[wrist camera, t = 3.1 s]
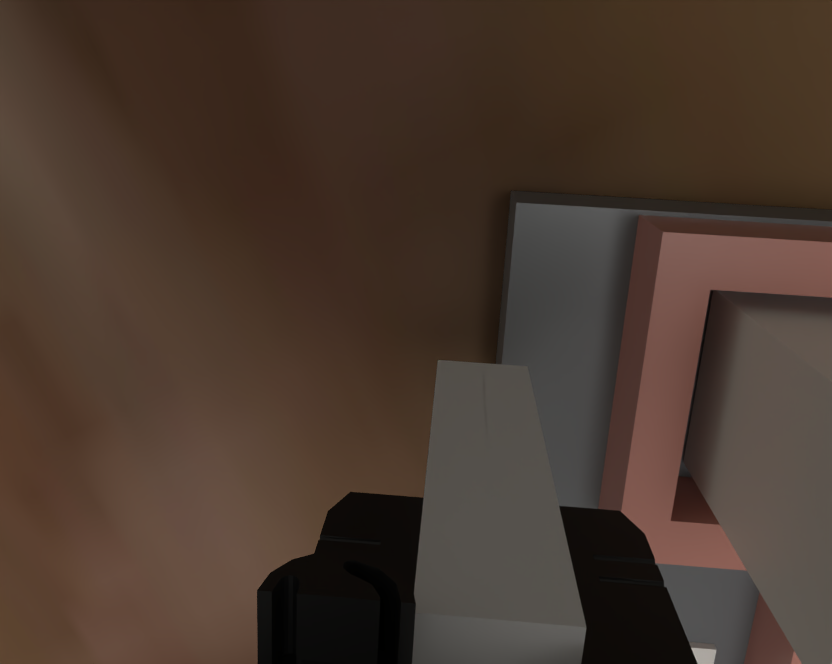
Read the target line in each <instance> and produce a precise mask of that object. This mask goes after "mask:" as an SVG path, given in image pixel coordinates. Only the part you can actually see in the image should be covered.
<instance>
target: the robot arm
mask: <svg viewBox="0 0 832 664" xmlns="http://www.w3.org/2000/svg"><path fill="white" fill-rule="evenodd" d="M257 623H258V664H697V661H696V659H695V656H694V654H693V651H692V649H691V646H690V644H689V641H688V639H687V636H686V634H685V632H684V629H683V627H682V624H681V622H680V619H679V617H678V614H677V612H676V609H675V607H674V604H673V602H672V600H671V597H670V595H669V592H668V590H667V587H664V580H663V577H662V575H661V572H660V570H659V568H658V565H655V558H654V555H653V553H652V550H651V548H650V545H649V543H648V540H647V538H646V535H645V533H643V532H642V531H641V530H640V529H639V528H638V527H637V526H636V525H635V524H634V523H633V522H632V521H630V520H629V519H628V518H627V517H626V516H625V515H624V514H623V513H622V512H621V511H618V510H606V509H593V508H581V507H568V506H559V504H558V499H557V495H556V490H555V486H554V482H553V477H552V473H551V468H550V464H549V459H548V455H547V451H546V446H545V442H544V437H543V433H542V429H541V424H540V420H539V415H538V411H537V406H536V402H535V398H534V393H533V389H532V384H531V380H530V375H529V371H528V367H527V366H516V365H502V364H489V363H475V362H461V361H447V360H438V363H437V372H436V382H435V392H434V402H433V411H432V421H431V431H430V441H429V450H428V460H427V470H426V480H425V489H424V498H420V497H407V496H395V495H382V494H369V493H357V492H350V493H349V494H347V495H346V496H345V497H344V498H343V499H342V500H340V501H339V502H338V503H337V504H336V505H335V506H333V507H332V508H331V509H330V510H329V511H328V513H327V516H326V519H325V522H324V525H323V528H322V531H321V534H320V540H319V541H318V544H317V547H316V550H315V553H314V554H311V555H308V556H304V557H300V558H296V559H293V560H291V561H289V562H287V563H286V564H284V565H282V566H281V567H279V568H277V569H276V570H274V571H272V572H271V573H270V574H269V575H268V577H267V578H266V579H265V581H264V582H263V583H262V585H261V586H260V587H259V589H258V590H257Z"/></svg>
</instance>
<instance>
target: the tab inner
mask: <svg viewBox="0 0 832 664" xmlns="http://www.w3.org/2000/svg"><path fill="white" fill-rule="evenodd" d="M683 463H684V464H685V466H686V468H687V469H688V471H689V473H690V475H691V476H692V478H693V480H694V481H695V483H696V485H697V486H698V488H699V490H700V492H701V493H702V495H703V497H704V498H705V500H706V502H707V503H708V505H709V507H710V509H711V510H712V512H713V514H714V515H715V517H716V519H717V520H718V522H719V524H720V526H721V527H722V529H723V531H724V532H725V534H726V536H727V537H728V539H729V541H730V543H731V544H732V546H733V548H734V549H735V551H736V553H737V554H738V556H739V558H740V560H741V561H742V563H743V565H744V566H745V568H746V570H747V571H748V573H749V575H750V577H751V578H752V580H753V582H754V583H755V585H756V587H757V588H758V590H759V592H760V594H761V595H762V597H763V599H764V600H765V602H766V604H767V605H768V607H769V609H770V611H771V612H772V614H773V616H774V617H775V619H776V621H777V622H778V624H779V626H780V628H781V629H782V631H783V633H784V634H785V636H786V638H787V640H788V641H789V643H790V645H791V646H792V648H793V650H794V651H795V653H796V655H797V657H798V658H799V660H800V662H801V663H802V664H832V298H830V297H814V296H799V295H783V294H768V293H752V292H737V291H721V290H713V294H712V300H711V306H710V311H709V317H708V323H707V329H706V335H705V340H704V346H703V352H702V358H701V363H700V369H699V375H698V381H697V386H696V392H695V398H694V404H693V410H692V415H691V421H690V427H689V433H688V438H687V444H686V450H685V456H684V462H683Z"/></svg>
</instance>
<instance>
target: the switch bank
mask: <svg viewBox="0 0 832 664" xmlns="http://www.w3.org/2000/svg"><path fill="white" fill-rule="evenodd" d="M713 290H721V291H737V292H752V293H768V294H783V295H799V296H814V297H830V298H832V210H826V209H810V208H793V207H776V206H759V205H743V204H726V203H709V202H693V201H676V200H659V199H642V198H626V197H609V196H592V195H576V194H559V193H542V192H525V191H511V196H510V207H509V219H508V230H507V241H506V253H505V264H504V275H503V287H502V298H501V309H500V321H499V332H498V343H497V355H496V364H502V365H516V366H527V367H528V371H529V375H530V380H531V384H532V389H533V393H534V398H535V402H536V406H537V411H538V415H539V420H540V424H541V429H542V433H543V437H544V442H545V446H546V451H547V455H548V459H549V464H550V468H551V473H552V477H553V482H554V486H555V490H556V495H557V499H558V504H559V506H568V507H581V508H593V509H606V510H618V511H621V512H622V513H623V514H624V515H625V516H626V517H627V518H628V519H629V520H630V521H632V522H633V523H634V524H635V525H636V526H637V527H638V528H639V529H640V530H641V531H642V532H643V533H645V535H646V538H647V540H648V543H649V545H650V548H651V550H652V553H653V555H654V558H655V565H658V568H659V570H660V572H661V575H662V577H663V580H664V587H667V590H668V592H669V595H670V597H671V600H672V602H673V604H674V607H675V609H676V612H677V614H678V617H679V619H680V622H681V624H682V627H683V629H684V632H685V634H686V636H687V639H688V641H689V644H690V646H691V649H692V651H693V654H694V656H695V659H696V661H697V664H802V663H801V662H800V660H799V658H798V657H797V655H796V653H795V651H794V650H793V648H792V646H791V645H790V643H789V641H788V640H787V638H786V636H785V634H784V633H783V631H782V629H781V628H780V626H779V624H778V622H777V621H776V619H775V617H774V616H773V614H772V612H771V611H770V609H769V607H768V605H767V604H766V602H765V600H764V599H763V597H762V595H761V594H760V592H759V590H758V588H757V587H756V585H755V583H754V582H753V580H752V578H751V577H750V575H749V573H748V571H747V570H746V568H745V566H744V565H743V563H742V561H741V560H740V558H739V556H738V554H737V553H736V551H735V549H734V548H733V546H732V544H731V543H730V541H729V539H728V537H727V536H726V534H725V532H724V531H723V529H722V527H721V526H720V524H719V522H718V520H717V519H716V517H715V515H714V514H713V512H712V510H711V509H710V507H709V505H708V503H707V502H706V500H705V498H704V497H703V495H702V493H701V492H700V490H699V488H698V486H697V485H696V483H695V481H694V480H693V478H692V476H691V475H690V473H689V471H688V469H687V468H686V466H685V464H684V463H683V462H684V456H685V450H686V444H687V438H688V433H689V427H690V421H691V415H692V410H693V404H694V398H695V392H696V386H697V381H698V375H699V369H700V363H701V358H702V352H703V346H704V340H705V335H706V329H707V323H708V317H709V311H710V306H711V300H712V294H713Z"/></svg>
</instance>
